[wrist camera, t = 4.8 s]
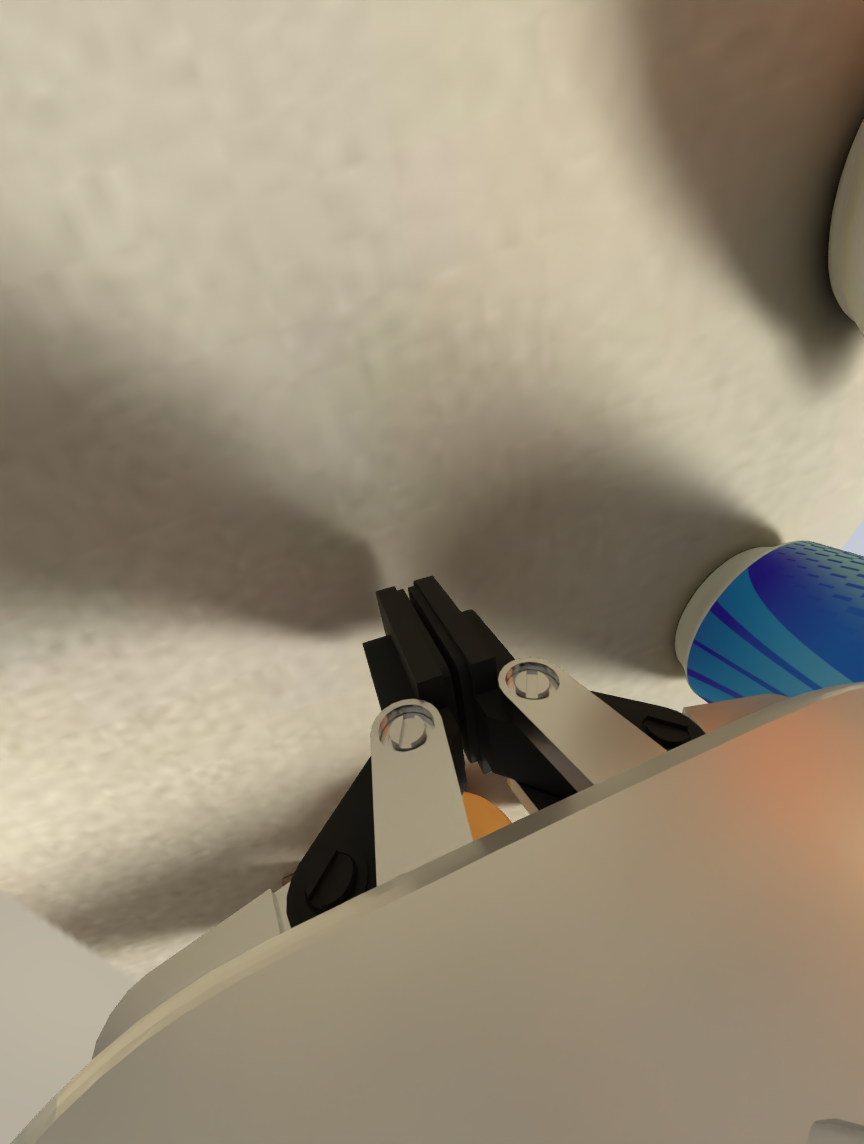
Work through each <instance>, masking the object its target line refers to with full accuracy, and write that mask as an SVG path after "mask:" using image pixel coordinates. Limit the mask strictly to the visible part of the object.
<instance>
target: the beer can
mask: <svg viewBox="0 0 864 1144" xmlns="http://www.w3.org/2000/svg"><path fill="white" fill-rule="evenodd" d="M675 651H676V655H677V658H678V660H679V662H680V663H681V664H682V666H683V667H684V670H685V675H686V679H687V682H688V684H689V686H690V688H691V689H692V690H693V691H694V692H695V693H696V694H697V695H698V696H700V697H701V698H702V699H704V700H705V701H706V702H708V703H714V702H720V701H726V700H732V699H738V698H744V697H750V696H756V695H762V694H778V695H783V696H787V697H791V698H792V697H795V696H798V695H800V694H803V693H806V692H810V691H814V690H818V689H822V688H826V687H831V686H836V685H843V684H850V683H857V682H864V556H861V555H857V554H854V553H850V552H846V551H843V550H840V549H836V548H832V547H829V546H825V545H822V544H818V543H815V542H810V541H794V542H788V543H785V544H781V545H778V546H775V547H757V548H753V549H749V550H746V551H744V552H741V553H739V554H737V555H735V556H734V557H732V558H730V559H729V560H727V561H726V562H725V563H723V564H722V565H721V566H719V567H718V568H717V569H716V570H715V571H714V572H713V573H712V574H711V575H710V576H709V577H708V578H707V579H706V580H705V581H704V582H703V583H702V584H701V586H700V587H699V588H698V589H697V591H696V592H695V593H694V595H693V596H692V598H691V599H690V601H689V602H688V604H687V606H686V608H685V610H684V612H683V614H682V616H681V619H680V621H679V624H678V627H677V631H676V636H675Z"/></svg>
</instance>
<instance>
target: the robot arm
mask: <svg viewBox="0 0 864 1144" xmlns="http://www.w3.org/2000/svg"><path fill="white" fill-rule="evenodd" d="M408 592H409V598H410V600H409V598H408V596H407V595H406V593H405V591H404V590H403V589H401V590H398V591H397V590H396V588H395V586H394V587H390V588H386V589H383V590H379V591H376V596H377V600H378V605H379V609H380V613H381V617H382V621H383V625H384V630H385V634H386V636H384V637H381V638H378V639H374V640H371V641H368V642H365V643H363V647H364V651H365V654H366V658H367V661H368V665H369V669H370V672H371V676H372V679H373V683H374V686H375V690H376V693H377V697H378V700H379V704H380V707H381V711H382V712H381V713H380V714H379V715H378V716H377V717H376V719H375V721H374V723H373V725H372V728H371V735H370V737H371V757H370V758H369V760H368V761H367V763H366V764H365V766H364V767H363V769H362V770H361V772H360V773H359V775H358V776H357V778H356V779H355V781H354V782H353V784H352V785H351V787H350V788H349V790H348V791H347V793H346V794H345V796H344V797H343V799H342V800H341V802H340V803H339V805H338V806H337V808H336V809H335V811H334V812H333V814H332V815H331V817H330V818H329V820H328V821H327V823H326V824H325V826H324V827H323V829H322V830H321V832H320V833H319V835H318V836H317V838H316V839H315V841H314V842H313V844H312V845H311V847H310V848H309V850H308V851H307V853H306V854H305V856H304V857H303V859H302V860H301V862H300V863H299V865H298V867H297V869H296V871H295V873H294V875H293V877H292V879H291V881H290V882H289V883H287V884H286V885H284V886H283V887H282V888H280V889H279V890H277V891H276V892H275V893H274V892H273V891H272V890H271V888H270V889H268V890H267V891H265V892H264V893H263V894H261V895H260V896H258V897H257V898H255V899H254V900H253V901H251V902H250V903H248V904H247V905H245V906H244V907H242V908H241V909H240V910H238V911H237V912H235V913H234V914H232V915H231V916H230V917H228V918H227V919H225V920H224V921H222V922H221V923H220V924H218V925H217V926H215V927H214V928H212V929H211V930H209V931H208V932H207V933H205V934H204V935H202V936H201V937H199V938H198V939H197V940H195V941H194V942H192V943H191V944H189V945H188V946H187V947H185V948H184V949H182V950H181V951H179V952H178V953H176V954H175V955H174V956H172V957H171V958H169V959H168V960H166V961H165V962H164V963H162V964H161V965H159V966H158V967H156V968H155V969H154V970H152V971H151V972H149V973H148V974H147V975H145V976H144V977H143V978H142V979H141V980H140V981H139V982H138V983H136V984H135V985H134V986H133V987H132V988H131V989H130V990H129V991H128V992H127V993H126V994H125V996H124V997H123V998H122V1000H121V1001H120V1002H119V1003H118V1005H117V1006H116V1007H115V1009H114V1010H113V1011H112V1013H111V1014H110V1016H109V1018H108V1020H107V1022H106V1024H105V1026H104V1028H103V1030H102V1032H101V1034H100V1036H99V1037H98V1039H97V1042H96V1045H95V1049H94V1053H93V1057H92V1060H91V1061H90V1062H89V1063H88V1064H87V1065H86V1066H85V1067H84V1068H83V1069H82V1070H81V1071H80V1072H79V1073H78V1074H77V1075H76V1076H75V1077H74V1078H73V1079H72V1080H71V1081H70V1082H69V1083H68V1084H67V1085H66V1086H64V1087H63V1089H61V1090H60V1091H59V1092H58V1093H57V1094H56V1095H55V1096H54V1097H53V1098H52V1099H51V1100H50V1101H49V1102H48V1103H47V1104H46V1105H45V1107H44V1108H42V1110H41V1111H40V1112H39V1113H38V1114H37V1115H36V1116H35V1117H34V1118H33V1119H32V1120H31V1121H30V1122H29V1123H28V1125H27V1126H26V1127H25V1128H24V1129H23V1130H22V1131H21V1133H19V1134H18V1136H17V1137H16V1138H15V1139H14V1140H13V1141H12V1143H10V1144H864V682H857V683H850V684H843V685H836V686H831V687H826V688H822V689H818V690H814V691H810V692H806V693H803V694H800V695H798V696H795V697H792V698H791V697H787V696H783V695H778V694H762V695H756V696H750V697H744V698H738V699H732V700H726V701H720V702H714V703H708V704H702V705H696V706H690V707H684V708H683V712H682V713H679V712H678V711H675V710H672V709H669V708H666V707H662V706H657V705H653V704H648V703H644V702H639V701H635V700H630V699H626V698H621V697H616V696H612V695H607V694H603V693H598V692H594V691H589V690H588V689H587V688H585V687H584V686H583V685H581V684H580V683H579V682H578V681H576V680H575V679H574V678H572V677H571V676H570V675H568V674H567V673H566V672H565V671H563V670H562V669H561V668H559V667H558V666H557V665H555V664H553V663H551V662H550V661H547V660H544V659H541V658H532V657H527V658H519V659H516V660H515V659H514V657H513V656H512V655H511V654H510V653H509V652H508V650H507V649H506V648H505V647H504V646H503V644H502V643H501V642H500V641H499V640H498V639H497V637H496V636H495V635H494V634H493V633H492V631H491V630H490V629H489V628H488V627H487V626H486V624H485V623H484V622H483V621H482V620H481V618H480V617H479V616H478V615H477V614H476V613H475V612H474V611H473V610H467V611H464V612H461V611H460V610H459V609H458V608H457V606H456V605H455V604H454V602H453V601H452V600H451V599H450V597H449V596H448V595H447V593H446V592H445V591H444V590H443V588H442V587H441V586H440V585H439V583H438V582H437V581H436V579H435V578H434V577H433V576H429V577H425V578H422V579H418V580H415V581H414V586H412V587H408ZM463 750H464V752H465V754H466V756H467V758H468V760H469V762H470V763H471V764H472V763H474V762H478V764H479V766H480V768H481V769H482V771H483V773H484V774H486V773H488V772H490V771H492V772H493V773H496V774H499V775H502V776H505V777H506V780H507V783H508V785H509V787H510V788H511V790H512V791H513V793H514V794H515V795H516V797H517V798H518V799H519V801H520V802H521V803H522V805H523V806H524V807H525V808H526V810H527V811H528V812H529V814H530V815H529V816H526V817H524V818H522V819H520V820H518V821H516V822H514V823H511V824H509V825H507V826H505V827H503V828H501V829H498V830H496V831H494V832H492V833H490V834H488V835H486V836H484V837H481V838H479V839H477V840H475V841H473V838H472V834H471V830H470V826H469V822H468V819H467V815H466V811H465V807H464V803H463V799H462V795H463V792H464V790H465V788H466V785H467V779H466V772H465V761H464V754H463Z"/></svg>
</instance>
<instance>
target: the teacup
mask: <svg viewBox="0 0 864 1144" xmlns="http://www.w3.org/2000/svg"><path fill="white" fill-rule="evenodd" d="M828 264H829V276H830V281H831V286H832V290H833V292H834V295H835V298H836V299H837V301H838V303H839V305H840V307H841V308H842V310H843V312H844V313H845V314H846V315H847V316H848V317H849V318H850V319H852V320H853V321H855V323H856V324H857V326H858V328H859V330H860V331H861V333H862V334H863V336H864V119H863V121H862V123H861V125H860V127H859V130H858V132H857V134H856V137H855V139H854V142H853V144H852V147H851V149H850V152H849V154H848V157H847V160H846V163H845V166H844V169H843V172H842V175H841V178H840V182H839V186H838V191H837V195H836V199H835V203H834V208H833V213H832V219H831V226H830V236H829V252H828Z"/></svg>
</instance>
